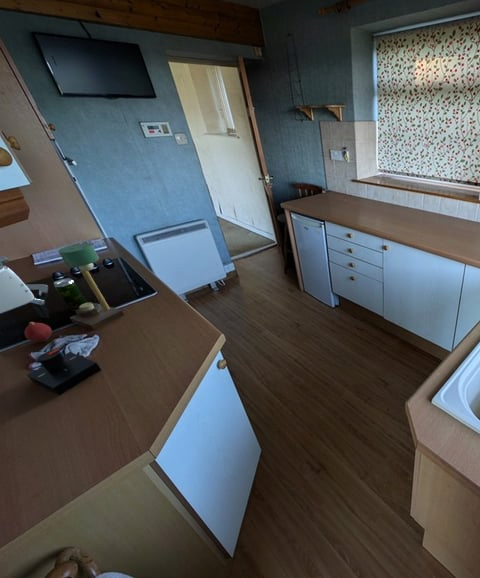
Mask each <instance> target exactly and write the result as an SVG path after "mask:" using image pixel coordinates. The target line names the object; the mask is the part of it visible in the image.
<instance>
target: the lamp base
mask: <svg viewBox="0 0 480 578" xmlns="http://www.w3.org/2000/svg"><path fill="white" fill-rule="evenodd" d="M92 304H93V305H94V308H93V309H91V310H88V311H82V310H81V309H80V308H79V309H77V310H76V311H75V313H76V314H74V315H72V316H70V317H69V320H70V321H71V322H72V323H73V322H75V323H74V324H76V323H77V324H76V325H78V324H79V326H82V327H84V328H86V329H89V330H92V331H96V330H98V329H100V328H102V327H103V326H106V325H108V324H109V323H111V322H113V321H116V320H117V319H120V318H121V317H123V316H125V313H124V312H123V310H122V309H119V308H116V307H112V306H109V308H110V309H109V310H107V311H105V310H104V309H103V307H102V305H101V304H100V303H97V302H95V303H93V302H92Z"/></svg>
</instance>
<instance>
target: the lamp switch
mask: <svg viewBox="0 0 480 578" xmlns="http://www.w3.org/2000/svg"><path fill="white" fill-rule="evenodd" d="M93 308H94V305H93V302H90V301H89V302H87V303H85V304H82V305H81V306H80V309H81V310H82V311H88V310H91V309H93Z"/></svg>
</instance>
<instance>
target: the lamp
mask: <svg viewBox="0 0 480 578" xmlns="http://www.w3.org/2000/svg"><path fill="white" fill-rule="evenodd" d="M58 254H59V255H60V257H61V258H62V260H63V261H64V264H65V265H66V267H69V268H78V269H79V271H80V272H81V274H82V275H83V278H84V279H85V281H86V282H87V284H88V285H89V287H90V289H91V290H92V292H93V294H94V295H95V297H96V298H97V300H98V302H99V304H101V305H102V307H103V309H104V310H105V311H107V310H109V309H110V308H109V307H110V306H109V304H108V303H107V301H106V299H105V297H104V296H103V294H102V293H101V291H100V289H99V288H98V285H97V284H96V282H95V281H94V278H93V277H92V276H91V274H90V271H92V270H93V269H94V263H96V262H98V261H99V259H100V257H99V255H98V254H97V252H96V250H95V248H94V246H93V244H92V243H89V242H82V243H75V244H71V245H66V246H64V247H62V248H60V249H58Z"/></svg>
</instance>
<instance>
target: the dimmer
mask: <svg viewBox="0 0 480 578" xmlns="http://www.w3.org/2000/svg"><path fill="white" fill-rule="evenodd" d="M62 355H63V356H64V357H65V359H66V360H67V361H68V365H67V366H66V367H64V368H62V369H61V370H58V371H55V372H48V371H47V370H46V369H45V368H44V366H43V365H42V366H41V367H38V368H37V369H35V370H33V371H31V372H29V373H27V375H26V376H27V377H28V378H29V379H30V381H32V383H34V384H36V385H38V386H40V387H41V388H44V389H46V390H48V391H50V392H52V393H54V394H56V395H58V396H61V395H62V394H65V393H66V392H67V391H69V390H71V389H73V388H74V387H76V386H77V385H79V384H80V383H82V382H84V381H86V380H87V379H89V378H90V377H92V376H94V375H95V374H98V372H100V371H102V369H101V368H100V366H99V364H98V362H96V361H93V360H91V359H88V358H87V357H84V356H81V355H79V354H76V353H75V352H72V351H69V352H67V353H65V354H62Z"/></svg>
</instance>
